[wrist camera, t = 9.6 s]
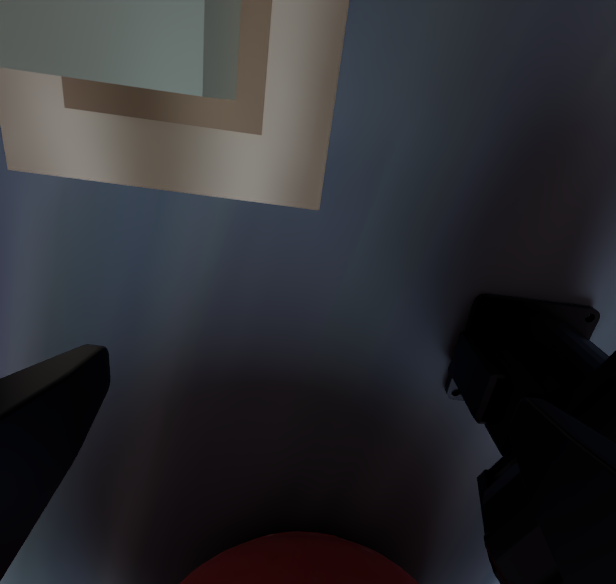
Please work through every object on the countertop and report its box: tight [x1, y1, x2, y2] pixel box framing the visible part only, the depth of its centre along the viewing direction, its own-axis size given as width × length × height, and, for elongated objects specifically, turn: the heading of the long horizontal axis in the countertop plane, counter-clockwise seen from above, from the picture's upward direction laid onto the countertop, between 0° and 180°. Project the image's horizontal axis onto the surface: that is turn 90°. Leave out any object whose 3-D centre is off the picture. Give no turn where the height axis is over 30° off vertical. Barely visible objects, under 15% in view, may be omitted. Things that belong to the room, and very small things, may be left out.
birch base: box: [0, 0, 349, 210], centre depth 15 cm, size 12×12×3 cm
